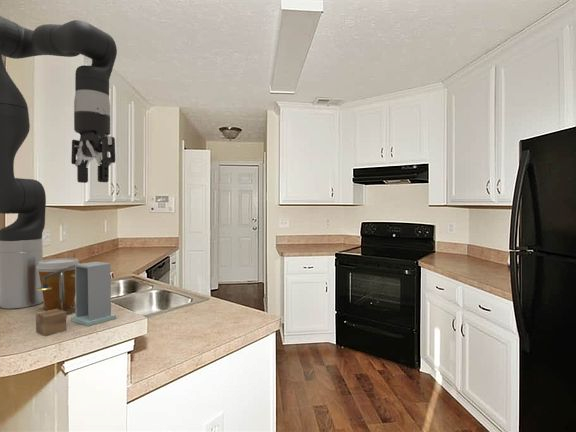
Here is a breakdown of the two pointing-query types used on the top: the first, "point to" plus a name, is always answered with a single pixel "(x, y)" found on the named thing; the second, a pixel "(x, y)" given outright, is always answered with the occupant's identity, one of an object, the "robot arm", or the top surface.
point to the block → (50, 322)
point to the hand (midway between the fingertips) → (92, 182)
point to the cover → (93, 290)
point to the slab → (84, 320)
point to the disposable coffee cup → (57, 281)
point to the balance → (61, 288)
